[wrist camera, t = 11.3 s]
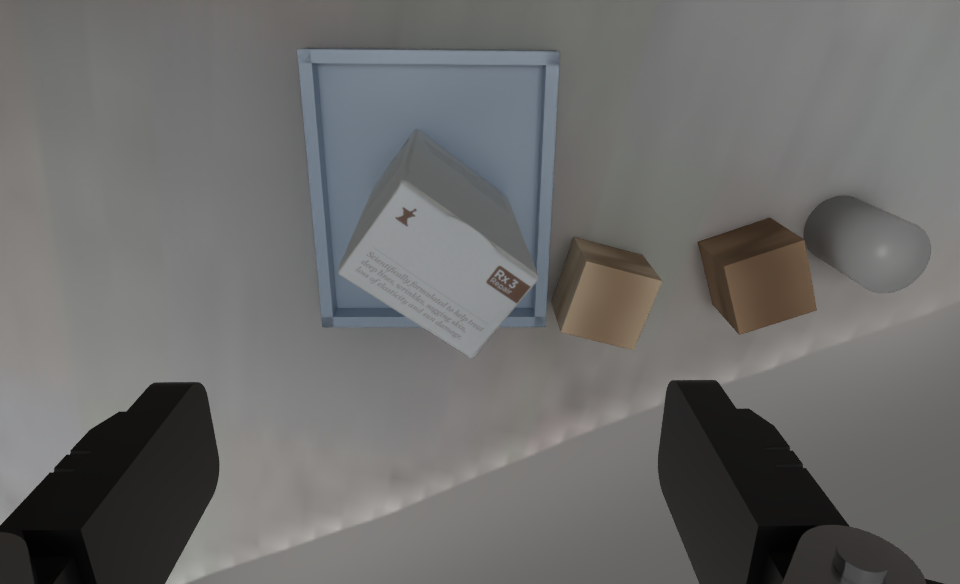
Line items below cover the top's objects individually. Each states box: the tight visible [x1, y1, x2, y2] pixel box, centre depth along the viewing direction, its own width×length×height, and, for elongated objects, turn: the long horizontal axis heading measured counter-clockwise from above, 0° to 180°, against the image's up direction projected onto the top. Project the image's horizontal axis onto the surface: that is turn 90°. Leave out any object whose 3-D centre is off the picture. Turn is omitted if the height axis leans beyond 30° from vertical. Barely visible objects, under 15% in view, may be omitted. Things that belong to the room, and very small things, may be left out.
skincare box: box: [338, 129, 539, 358], centre depth 28 cm, size 6×4×12 cm
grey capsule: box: [804, 196, 931, 293], centre depth 33 cm, size 4×4×5 cm
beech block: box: [551, 237, 662, 350], centre depth 35 cm, size 4×4×4 cm
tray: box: [297, 48, 560, 327], centre depth 33 cm, size 12×14×2 cm
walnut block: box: [698, 218, 817, 335], centre depth 35 cm, size 4×4×4 cm
